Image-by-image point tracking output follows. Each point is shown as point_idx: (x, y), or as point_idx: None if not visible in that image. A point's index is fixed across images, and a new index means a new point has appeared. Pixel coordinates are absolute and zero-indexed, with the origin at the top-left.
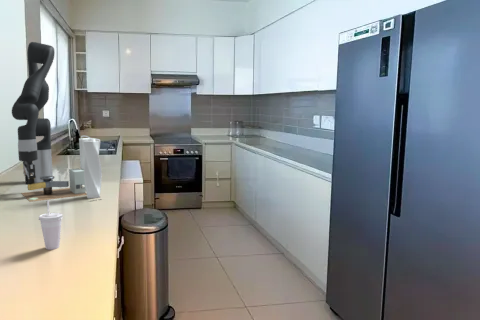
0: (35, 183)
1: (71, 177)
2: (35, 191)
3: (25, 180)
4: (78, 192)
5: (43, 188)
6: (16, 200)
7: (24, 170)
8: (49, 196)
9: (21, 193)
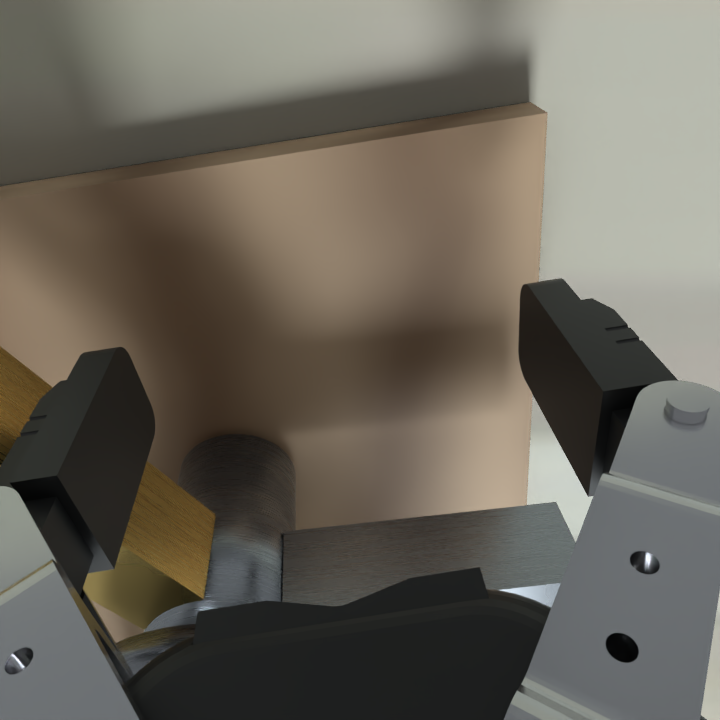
0: None
1: None
2: None
3: (556, 327)
4: None
5: (205, 499)
6: (97, 8)
7: (564, 585)
8: None
9: (485, 123)
